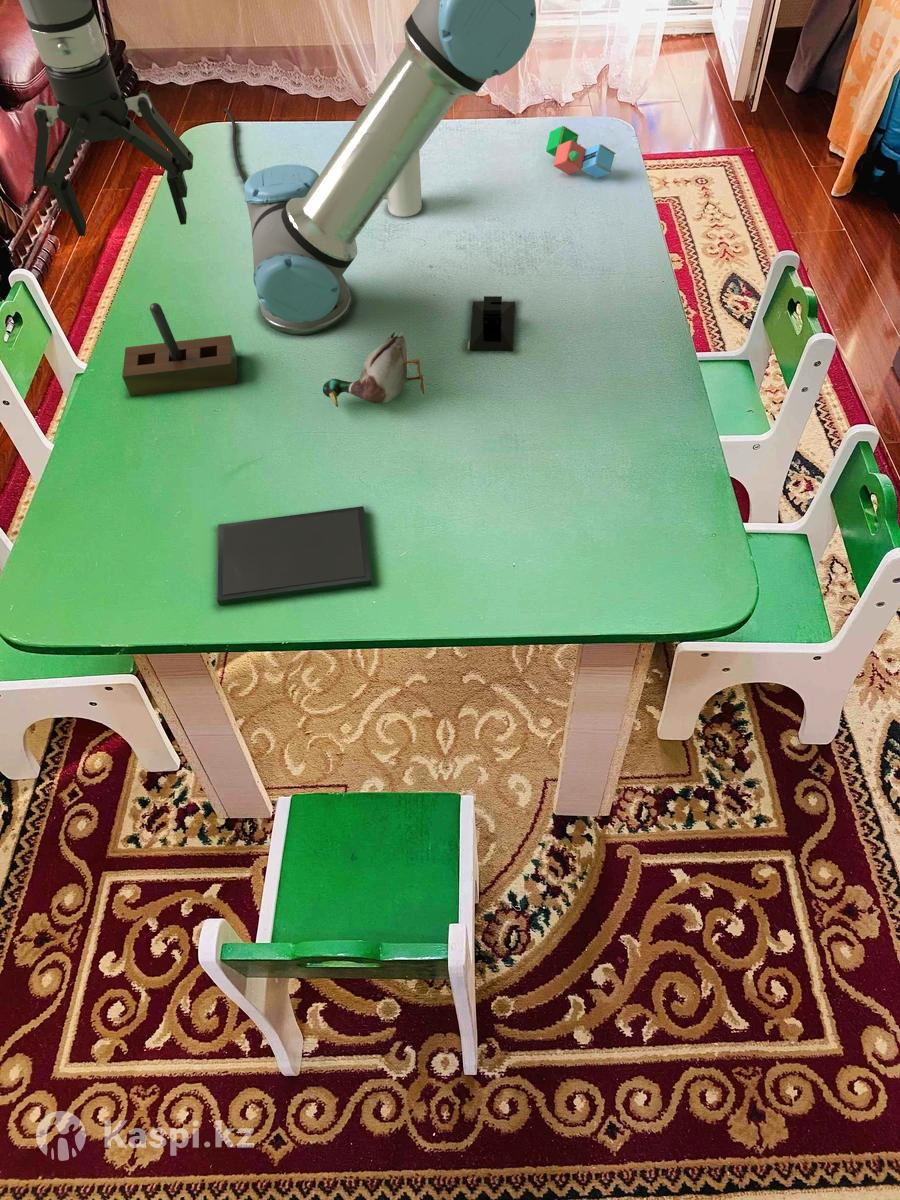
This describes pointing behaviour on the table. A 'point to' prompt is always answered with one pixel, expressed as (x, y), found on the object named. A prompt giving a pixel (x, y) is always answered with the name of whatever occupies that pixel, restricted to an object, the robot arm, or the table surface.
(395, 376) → the decorative duck model
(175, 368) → the pen stand
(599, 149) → the building blocks
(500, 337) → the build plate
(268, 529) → the tablet
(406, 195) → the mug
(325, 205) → the robot arm
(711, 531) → the table surface
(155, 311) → the stylus
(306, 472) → the table surface
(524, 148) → the table surface
